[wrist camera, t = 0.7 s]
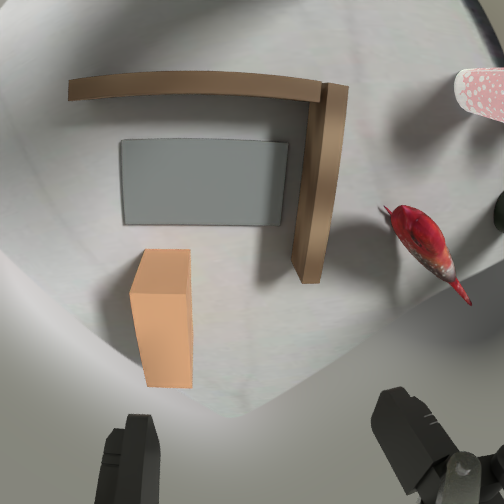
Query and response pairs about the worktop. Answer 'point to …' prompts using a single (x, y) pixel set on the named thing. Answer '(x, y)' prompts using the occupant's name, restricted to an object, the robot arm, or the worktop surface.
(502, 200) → the wine bottle
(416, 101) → the worktop surface
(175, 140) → the slate pad
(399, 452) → the robot arm
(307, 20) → the worktop surface
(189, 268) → the terracotta block
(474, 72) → the beverage cup
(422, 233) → the decorative bird figurine
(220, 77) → the walnut corner
